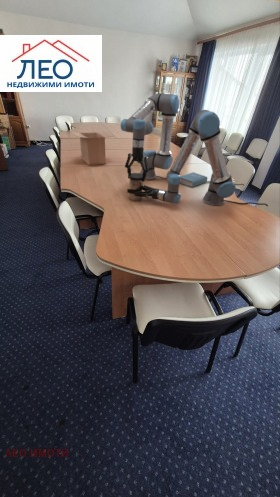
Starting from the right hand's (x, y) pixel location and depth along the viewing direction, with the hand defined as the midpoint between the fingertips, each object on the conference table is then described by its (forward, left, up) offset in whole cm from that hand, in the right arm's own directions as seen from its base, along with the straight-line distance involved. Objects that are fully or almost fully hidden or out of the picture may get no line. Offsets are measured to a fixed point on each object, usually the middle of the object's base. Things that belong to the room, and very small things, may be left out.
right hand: (130, 188), depth 164 cm
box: (+40, -89, -7) cm, 98 cm away
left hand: (-4, +2, +7) cm, 9 cm away
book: (-57, -38, -7) cm, 69 cm away
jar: (-4, +2, -7) cm, 8 cm away
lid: (-4, +2, +10) cm, 11 cm away
